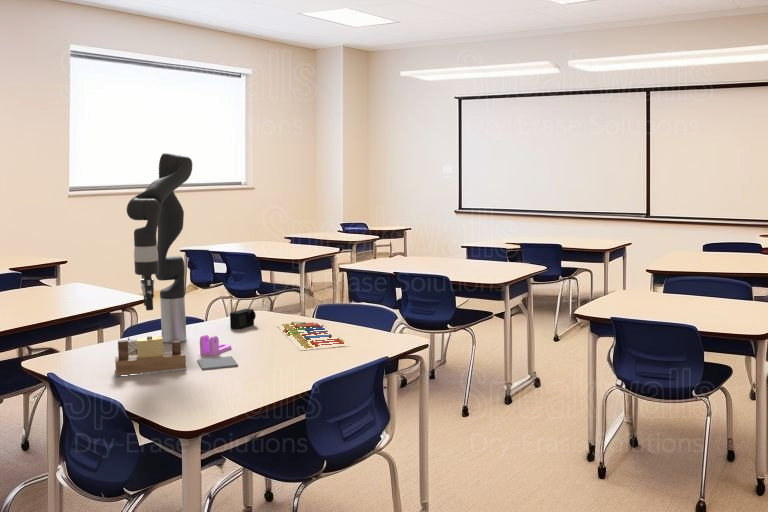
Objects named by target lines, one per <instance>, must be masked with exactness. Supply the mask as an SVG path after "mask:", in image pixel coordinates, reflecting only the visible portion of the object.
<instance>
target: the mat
mask: <svg viewBox="0 0 768 512" xmlns="http://www.w3.org/2000/svg"><path fill="white" fill-rule="evenodd" d="M196 362H197V363H198V366H199V367H200V369H201V371H206V370H207V371H208V370H216V369H217V370H218V369H226V368H234V367H235V368H237V367H239V364H238V363H237V361H236V360H235V359H234V357H233V356H232V355H231V356H229V355H228V356H221V357H220V356H219V357H211V358H210V357H209V358H202V359H200V358H199V359H196Z"/></svg>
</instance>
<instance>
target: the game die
mask: <svg viewBox="0 0 768 512" xmlns="http://www.w3.org/2000/svg"><path fill="white" fill-rule="evenodd" d="M127 340H128V356H130V355H137V339H130V338H129V337H128V338H127Z"/></svg>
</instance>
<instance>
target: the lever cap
mask: <svg viewBox="0 0 768 512" xmlns="http://www.w3.org/2000/svg"><path fill="white" fill-rule="evenodd" d="M136 340H137V356H138V359H143V358H154V357H164V355H163V352H164V342H163V338H162V335H159V336H157V335H156V336H152V335H150V336H149V335H148V336H145V337H137V338H136Z"/></svg>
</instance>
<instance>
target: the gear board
mask: <svg viewBox="0 0 768 512" xmlns="http://www.w3.org/2000/svg"><path fill="white" fill-rule="evenodd" d="M314 323H315V324H314ZM295 324H296V325H295ZM281 325H282V326H284V328H285V329H284V330H283V332H285V333H287V332H288V331H290V332H288V334H286V335H287V336H290V335H293V337H295V339H297V341H298V342H299V343H300V344H301V346H304V348H306V349H307V348H313V347H312V346H309V345H310V344H308V341H307V340H311V339H310V338H320V337H329V338H331V337H332V335H331V334H329V335H317V334H321V333H324V334H328V333H326V332H328V331H327V330H326V331H314V330H325V328H323V326H324V325H325V324H323V325H321V326H320V325H319V324H318V323H316V322H306V321H305V322H298V321H296V322H295V321H291V323H283V324H281ZM289 325H294V326H289ZM293 327H295V328H296V329H295V328H293ZM300 327H302V328H300ZM304 327H306V328H304ZM310 327H312V328H310ZM297 328H298V329H297ZM313 328H316V329H313ZM287 329H288V330H287ZM297 330H305V331H307V333H308V334H302V335H300V333H304V332H298V331H297ZM310 331H313V332H310ZM283 332H282V333H283ZM316 332H319V333H316ZM290 333H292V334H290ZM311 334H314V335H316V336H306V335H311ZM286 335H285V336H286ZM287 336H286V337H287ZM302 336H304V338H305V339H306V340H305V339H304V338H303V337H302ZM339 338H340V337H339ZM339 338H337V339H327V340H334V341H325V340H315V341H316V342H314V341H313V340H312V341H310V343H311V344H312V345H315V347H318V346H320V345H318V344H319V343H329V342H339V343H333V344H344V342H345V340H343V339H342V338H341V339H339ZM298 339H299V340H298ZM317 341H322V342H317ZM321 345H332V344H321Z"/></svg>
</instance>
